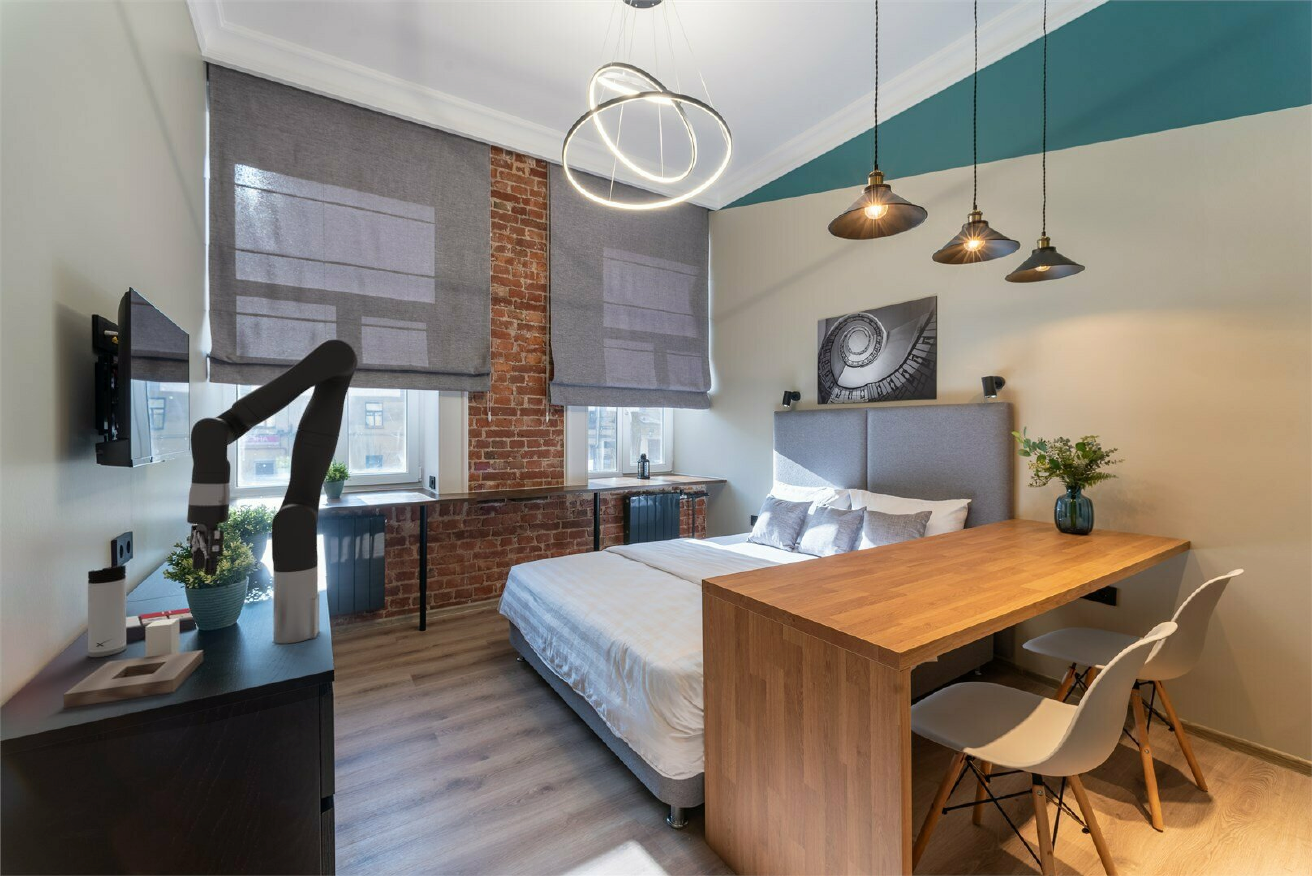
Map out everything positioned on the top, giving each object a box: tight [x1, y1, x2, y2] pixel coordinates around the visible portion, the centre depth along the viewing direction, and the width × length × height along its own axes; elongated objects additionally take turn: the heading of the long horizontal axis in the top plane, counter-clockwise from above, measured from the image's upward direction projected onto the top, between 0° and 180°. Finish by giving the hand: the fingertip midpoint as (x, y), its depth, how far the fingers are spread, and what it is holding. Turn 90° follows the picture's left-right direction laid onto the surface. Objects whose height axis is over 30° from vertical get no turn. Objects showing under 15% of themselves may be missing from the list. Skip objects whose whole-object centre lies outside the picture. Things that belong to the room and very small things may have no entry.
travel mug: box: [87, 564, 127, 658], centre depth 127 cm, size 6×7×20 cm
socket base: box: [63, 649, 204, 709], centre depth 112 cm, size 16×16×2 cm
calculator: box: [126, 607, 197, 643], centre depth 142 cm, size 11×4×15 cm
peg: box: [145, 618, 181, 657], centre depth 124 cm, size 4×4×8 cm
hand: (204, 571), depth 129 cm, fingers open, 8 cm apart
